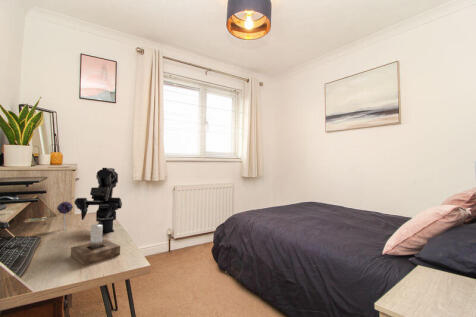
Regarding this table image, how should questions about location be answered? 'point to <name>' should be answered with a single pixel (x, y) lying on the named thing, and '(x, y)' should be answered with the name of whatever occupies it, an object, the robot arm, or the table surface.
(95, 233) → the translucent grey tall block
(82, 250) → the socket block
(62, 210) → the lollipop
